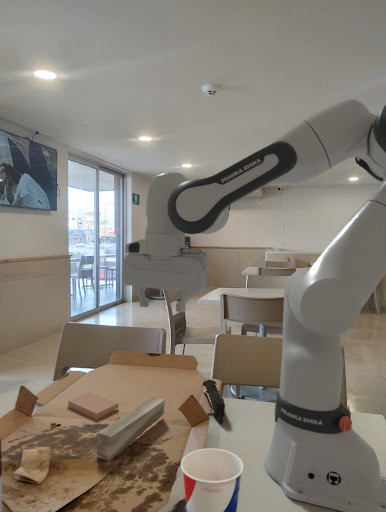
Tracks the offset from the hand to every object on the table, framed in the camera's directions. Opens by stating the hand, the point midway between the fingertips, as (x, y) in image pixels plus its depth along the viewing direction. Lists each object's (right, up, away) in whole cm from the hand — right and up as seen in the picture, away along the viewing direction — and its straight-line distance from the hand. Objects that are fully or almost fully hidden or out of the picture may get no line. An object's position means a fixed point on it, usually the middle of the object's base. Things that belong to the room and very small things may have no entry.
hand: (161, 309), depth 83 cm
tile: (-13, -25, +5) cm, 29 cm away
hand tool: (+13, -28, +14) cm, 34 cm away
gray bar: (-6, -27, -3) cm, 28 cm away
